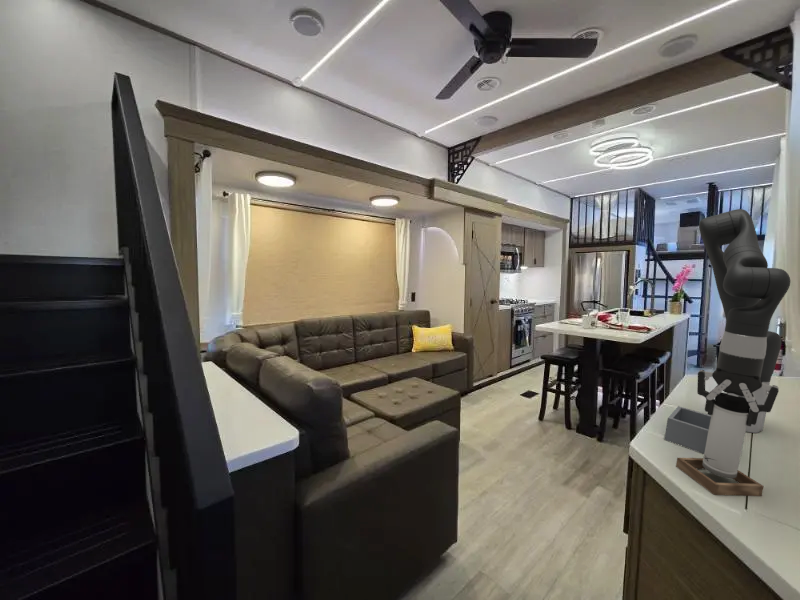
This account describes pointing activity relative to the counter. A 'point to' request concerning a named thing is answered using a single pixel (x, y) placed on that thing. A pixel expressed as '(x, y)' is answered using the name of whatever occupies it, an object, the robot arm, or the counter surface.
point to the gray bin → (688, 428)
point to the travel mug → (726, 435)
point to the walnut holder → (743, 486)
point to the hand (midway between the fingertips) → (728, 419)
